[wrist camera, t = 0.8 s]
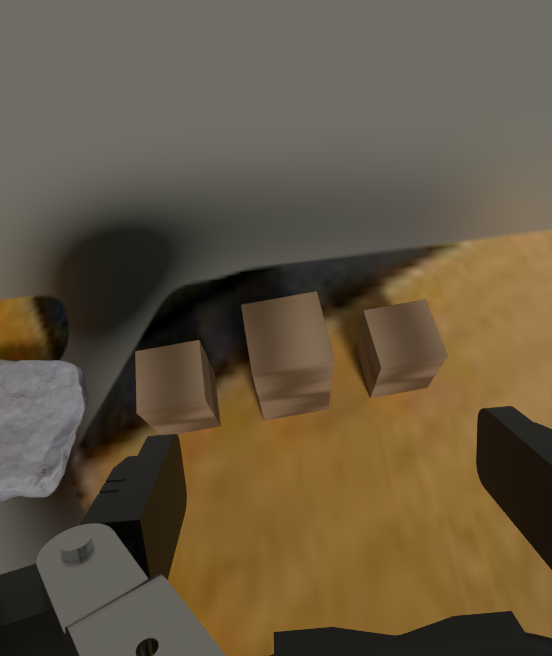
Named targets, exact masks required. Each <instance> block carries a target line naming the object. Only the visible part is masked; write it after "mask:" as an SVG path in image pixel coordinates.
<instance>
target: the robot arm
mask: <svg viewBox="0 0 552 656" xmlns="http://www.w3.org/2000/svg"><path fill="white" fill-rule="evenodd" d="M476 465H477V472H478V475H479V478H480V481H481V483H482V485H483V486H484V488H485V489H486V490H487V491H488V493H489V494H490V495H491V496H492V498H493V499H494V500H495V501H496V502H497V504H498V505H499V506H500V507H501V509H502V510H503V511H504V512H505V513H506V515H507V516H508V517H509V518H510V520H511V521H512V522H513V523H514V524H515V526H516V527H517V528H518V529H519V531H520V532H521V533H522V534H523V535H524V537H525V538H526V539H527V540H528V542H529V543H530V544H531V545H532V546H533V548H534V549H535V550H536V551H537V553H538V554H539V555H540V556H541V557H542V559H543V560H544V561H545V562H546V564H547V565H548V566H549V567H550V568H551V570H552V429H550V428H547V427H545V426H543V425H540V424H538V423H534V422H532V421H531V420H530V419H528V418H527V417H526V416H525V415H523V414H522V413H521V412H519V411H518V410H517V409H515V408H514V407H512V406H506V407H494V408H483V409H481V410H480V411H479V414H478V423H477V455H476ZM186 502H187V492H186V483H185V476H184V469H183V462H182V454H181V447H180V441H179V437H178V435H177V434H169V435H157V436H148V437H147V439H146V441H145V443H144V444H143V446H142V448H141V450H140V452H139V454H138V456H130V457H127V458H126V459H124V460H123V461H122V462H121V463H119V464H118V465H117V466H116V467H114V468H113V470H112V471H111V473H110V475H109V477H108V478H107V480H106V483H104V485H103V487H102V488H101V490H100V494H98V495H97V497H96V498H95V500H94V502H93V503H92V505H91V507H90V509H89V510H88V512H87V514H86V515H85V517H84V519H83V520H82V522H81V524H80V525H79V526H77V527H73V528H71V529H68V530H66V531H64V532H62V533H60V534H59V535H57V536H56V537H54V538H53V539H52V540H50V541H49V542H48V543H47V544H46V545H45V546H44V547H43V548H42V549H41V551H40V553H39V554H38V557H37V561H36V563H35V564H33V565H31V566H27V567H24V568H21V569H18V570H15V571H11V572H8V573H4V574H1V575H0V656H226V655H225V654H224V653H223V651H222V650H221V649H220V648H219V646H218V645H217V644H216V642H215V641H214V640H213V639H212V637H211V636H210V635H209V633H208V632H207V631H206V630H205V628H204V627H203V626H202V624H201V623H200V622H199V621H198V619H197V618H196V617H195V615H194V614H193V613H192V612H191V610H190V609H189V608H188V606H187V605H186V604H185V603H184V601H183V600H182V599H181V597H180V596H179V595H178V594H177V592H176V591H175V590H174V588H173V587H172V586H171V585H170V583H169V582H168V581H167V580H168V576H169V572H170V569H171V565H172V561H173V557H174V553H175V550H176V546H177V542H178V538H179V534H180V530H181V527H182V523H183V519H184V515H185V511H186ZM270 656H552V638H549V637H545V636H541V635H536V634H532V633H526V632H524V630H523V629H522V627H521V625H520V624H519V622H518V621H517V619H516V617H515V616H514V614H513V613H512V611H506V612H495V613H484V614H473V615H461V616H452V617H450V618H447V619H444V620H441V621H439V622H436V623H433V624H430V625H427V626H425V627H422V628H419V629H416V630H414V631H411V632H408V633H405V634H402V635H396V636H394V635H385V634H378V633H371V632H364V631H357V630H350V629H343V628H336V627H327V628H316V629H304V630H293V631H282V632H274V654H272V655H270Z"/></svg>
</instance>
